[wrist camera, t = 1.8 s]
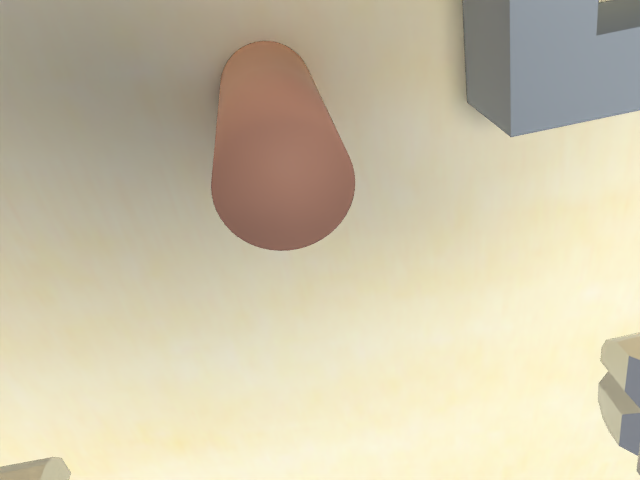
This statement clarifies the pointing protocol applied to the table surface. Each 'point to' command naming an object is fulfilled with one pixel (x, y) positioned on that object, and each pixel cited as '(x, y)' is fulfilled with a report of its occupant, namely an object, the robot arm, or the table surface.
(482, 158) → the table surface
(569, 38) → the bore block
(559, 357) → the table surface
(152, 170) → the table surface
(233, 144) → the long pin
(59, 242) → the table surface
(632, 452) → the robot arm
